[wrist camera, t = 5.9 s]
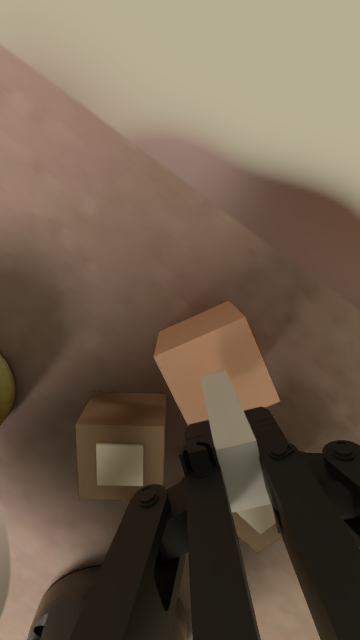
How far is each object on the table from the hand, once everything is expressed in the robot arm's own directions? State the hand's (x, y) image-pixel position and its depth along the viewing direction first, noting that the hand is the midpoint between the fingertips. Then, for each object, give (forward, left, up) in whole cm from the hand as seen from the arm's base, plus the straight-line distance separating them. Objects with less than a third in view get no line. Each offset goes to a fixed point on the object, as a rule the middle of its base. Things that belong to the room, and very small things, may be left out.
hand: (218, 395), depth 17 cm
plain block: (0, 0, -8) cm, 8 cm away
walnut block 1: (-8, -5, -8) cm, 12 cm away
